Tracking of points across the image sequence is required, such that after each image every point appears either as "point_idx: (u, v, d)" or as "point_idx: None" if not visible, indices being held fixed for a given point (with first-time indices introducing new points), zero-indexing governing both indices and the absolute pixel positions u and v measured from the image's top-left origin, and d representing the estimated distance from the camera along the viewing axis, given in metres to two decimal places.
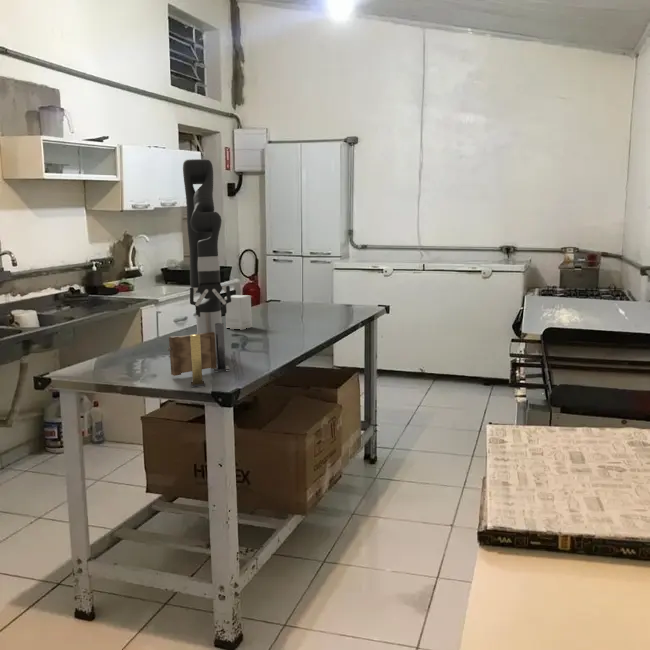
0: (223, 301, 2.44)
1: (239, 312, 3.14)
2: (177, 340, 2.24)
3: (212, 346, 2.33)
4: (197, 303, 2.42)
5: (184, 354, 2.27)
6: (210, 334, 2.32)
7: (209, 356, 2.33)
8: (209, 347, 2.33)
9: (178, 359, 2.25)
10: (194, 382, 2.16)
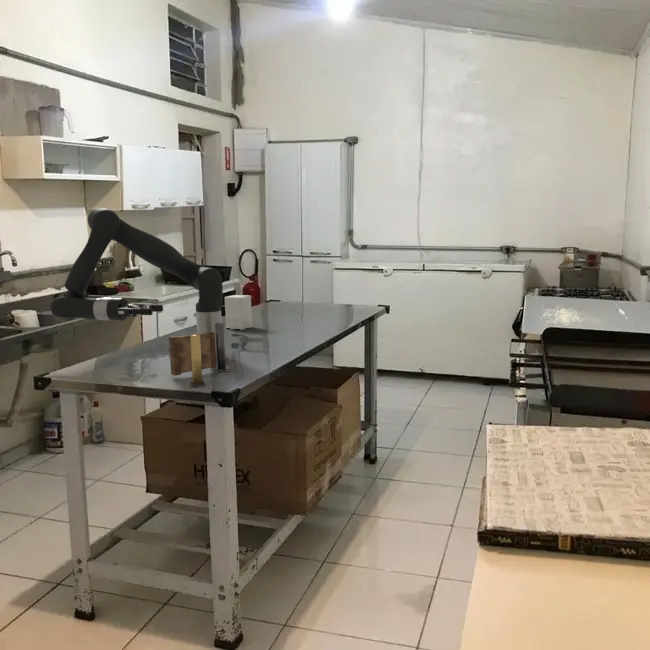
0: None
1: (239, 312, 3.14)
2: (177, 340, 2.24)
3: (212, 346, 2.33)
4: None
5: (184, 354, 2.27)
6: (210, 334, 2.32)
7: (209, 356, 2.33)
8: (209, 347, 2.33)
9: (178, 359, 2.25)
10: (194, 382, 2.16)
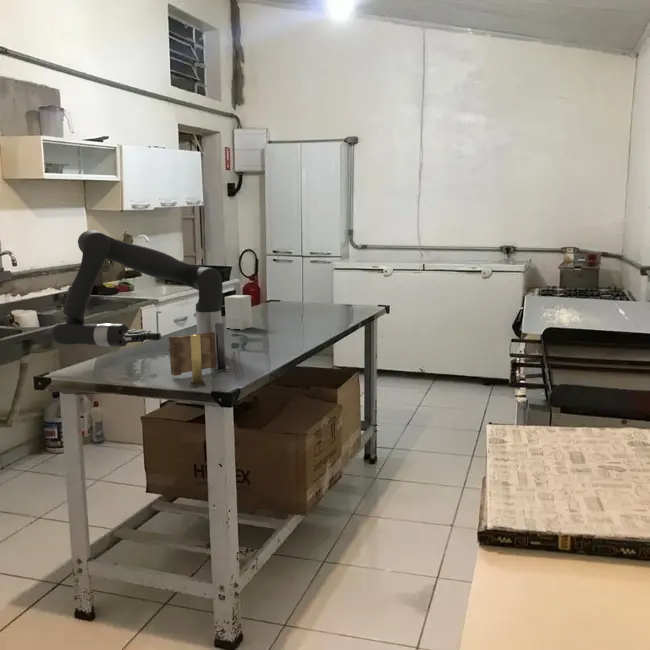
0: None
1: (239, 312, 3.14)
2: (177, 340, 2.24)
3: (212, 346, 2.33)
4: (147, 339, 2.29)
5: (184, 354, 2.27)
6: (210, 334, 2.32)
7: (209, 356, 2.33)
8: (209, 347, 2.33)
9: (178, 359, 2.25)
10: (194, 382, 2.16)
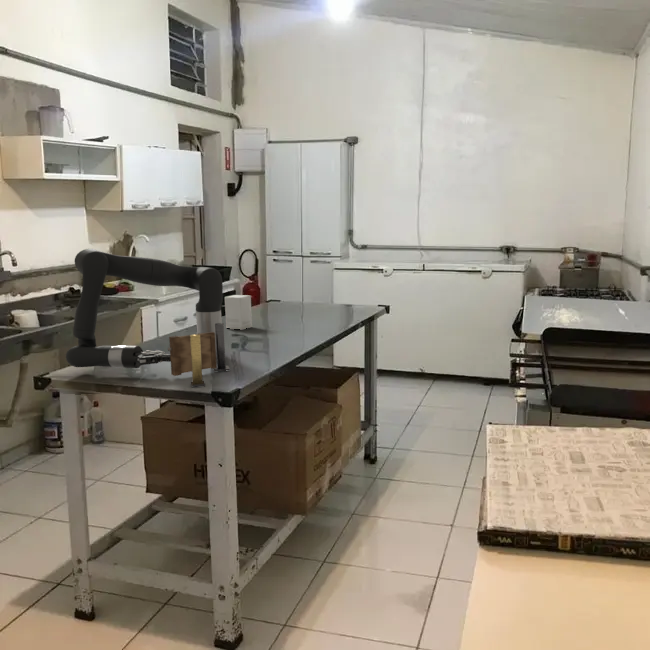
0: None
1: (239, 312, 3.14)
2: (177, 340, 2.24)
3: (212, 346, 2.33)
4: None
5: (184, 354, 2.27)
6: (210, 334, 2.32)
7: (209, 356, 2.33)
8: (209, 347, 2.33)
9: (178, 359, 2.25)
10: (194, 382, 2.16)
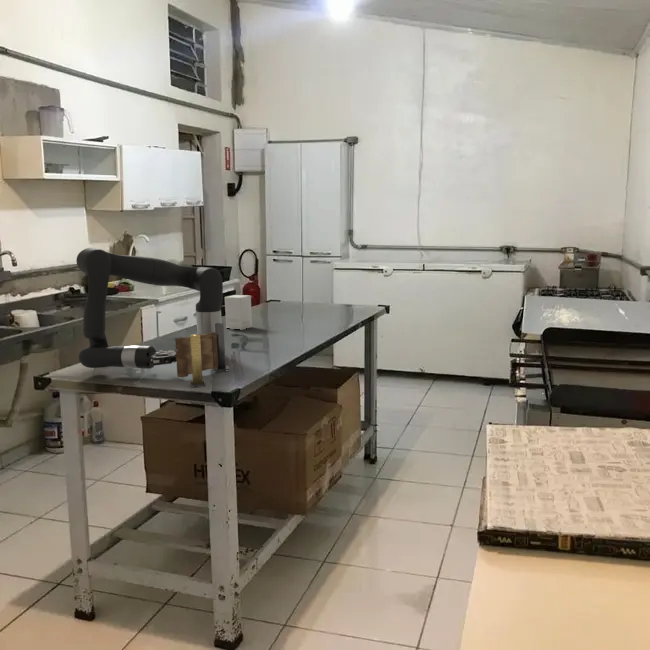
0: None
1: (239, 312, 3.14)
2: (184, 341, 2.22)
3: (214, 346, 2.33)
4: None
5: (190, 355, 2.25)
6: (212, 334, 2.32)
7: (211, 356, 2.33)
8: (211, 347, 2.32)
9: (185, 360, 2.23)
10: (194, 382, 2.16)
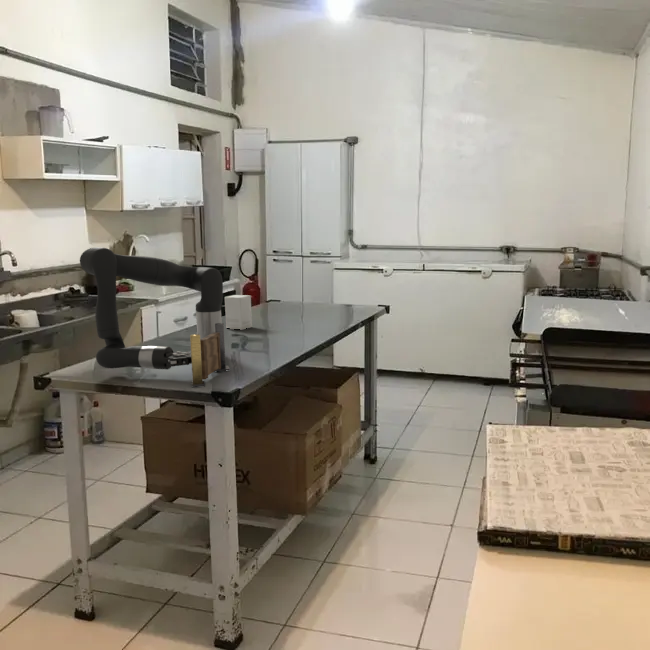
0: None
1: (239, 312, 3.14)
2: (205, 342, 2.19)
3: (219, 346, 2.32)
4: None
5: (207, 356, 2.23)
6: (218, 334, 2.31)
7: (217, 357, 2.32)
8: (217, 348, 2.32)
9: (206, 362, 2.20)
10: (194, 382, 2.16)
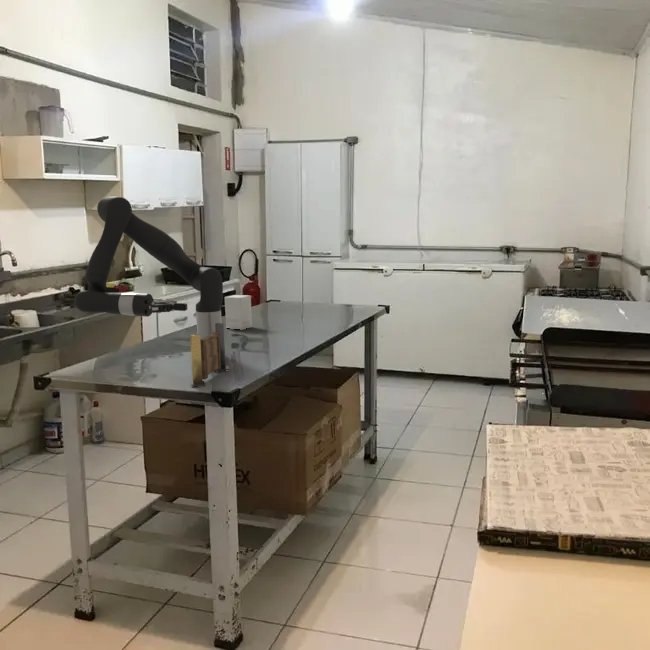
0: None
1: (239, 312, 3.14)
2: (205, 342, 2.19)
3: (218, 346, 2.32)
4: None
5: (207, 356, 2.23)
6: (218, 334, 2.31)
7: (217, 357, 2.32)
8: (217, 348, 2.32)
9: (206, 362, 2.20)
10: (194, 382, 2.16)
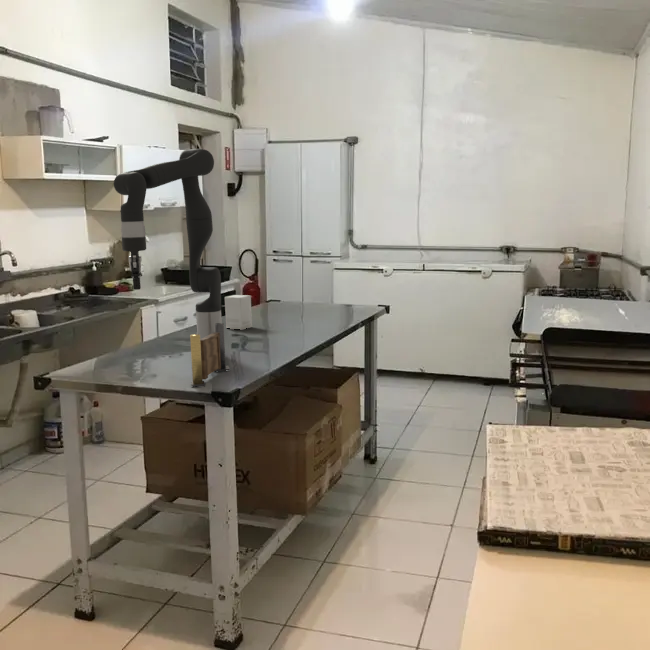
0: None
1: (239, 312, 3.14)
2: (205, 342, 2.19)
3: (218, 346, 2.32)
4: None
5: (207, 356, 2.23)
6: (218, 334, 2.31)
7: (217, 357, 2.32)
8: (217, 348, 2.32)
9: (206, 362, 2.20)
10: (194, 382, 2.16)
